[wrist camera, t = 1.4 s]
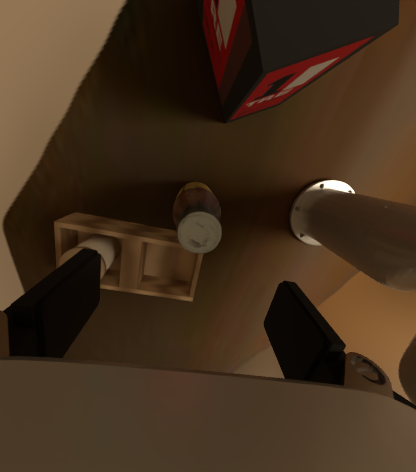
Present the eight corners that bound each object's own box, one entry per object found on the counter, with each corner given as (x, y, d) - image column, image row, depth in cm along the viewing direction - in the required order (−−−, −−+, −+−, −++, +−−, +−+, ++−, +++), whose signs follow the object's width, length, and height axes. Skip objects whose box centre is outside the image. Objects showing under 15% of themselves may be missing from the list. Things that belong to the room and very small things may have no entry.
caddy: (203, 235, 39) (204, 248, 33) (193, 283, 42) (192, 301, 37) (75, 212, 36) (53, 221, 30) (76, 265, 39) (57, 282, 34)
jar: (123, 234, 37) (104, 253, 29) (120, 264, 39) (102, 288, 31) (86, 228, 36) (58, 245, 29) (86, 258, 38) (60, 282, 31)
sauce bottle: (191, 221, 37) (185, 281, 19) (171, 193, 35) (142, 229, 17) (220, 202, 36) (245, 245, 18) (202, 172, 34) (207, 186, 16)
